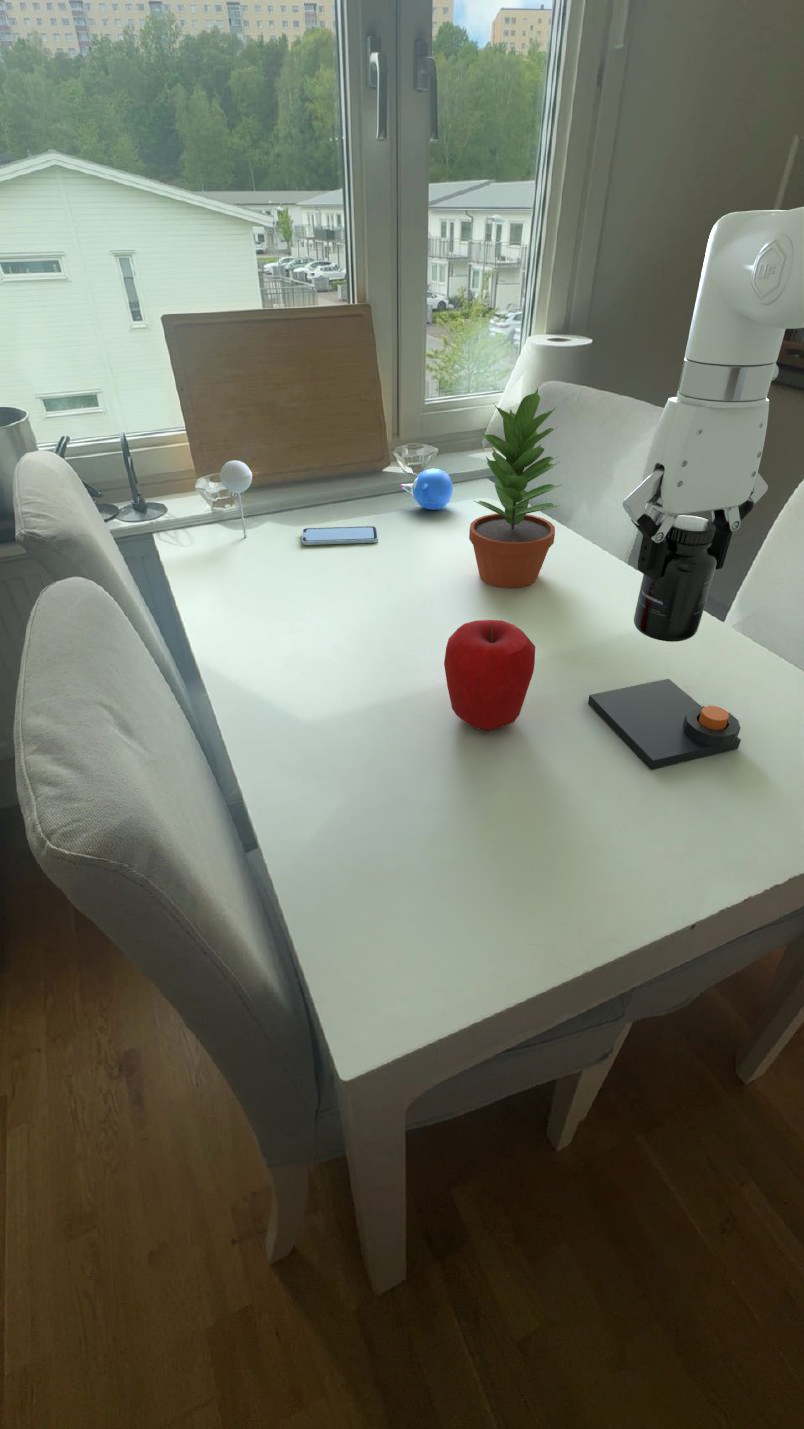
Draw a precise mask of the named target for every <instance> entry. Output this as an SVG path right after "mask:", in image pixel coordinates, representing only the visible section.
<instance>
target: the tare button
mask: <svg viewBox="0 0 804 1429" xmlns="http://www.w3.org/2000/svg"><path fill="white" fill-rule="evenodd" d="M728 718H729V714H728V711H727V710H726V709H724V708H722V707H721V706H717V705H706V706H705V707H704V708H703V709H702V711H701V714H700V718H699V723H700V724H701V725H702V726H703V727H706V728H708V729H711V730H723V729H724V728H725V727H726V724H727V721H728Z"/></svg>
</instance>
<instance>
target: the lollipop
mask: <svg viewBox="0 0 804 1429" xmlns="http://www.w3.org/2000/svg"><path fill="white" fill-rule="evenodd" d="M219 480H220V482H221V484H222V485H223V487H224V488H225V489H226V490H228V491H229V492H231V493H233V494H234V493H235V494H237V499H238V506H239V511H240V517H241V524H242V531H243V538H247V536H248V535H247V531H246V525H245V518H244V517H245V516H244V512H243V511H244V510H243V505H242V504H243V503H242V498H241V493H244V492H246V491H247V490H248V489H249V488H250V486H251V484H252V480H253V473H252V471H251V469H250V468H249V466H248V465H247V464H246V463H244V462H243V461H241V460H230V461H227V462H226V463H225V464H224V465H223V466H222V467H221V469H220V472H219Z"/></svg>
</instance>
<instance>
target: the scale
mask: <svg viewBox="0 0 804 1429" xmlns="http://www.w3.org/2000/svg"><path fill="white" fill-rule="evenodd" d="M587 704H588V706H589V707H590V708H591V709H592V710H593V711H594V712H595V713H596V714H597V715H598V716H599V717H600V718H601V719H602V720H603V722H604V723H605V724H606V725H607V726H608V727H609V728H610V729H611V730H613V732H614V733H615V734H616V735H617V736H618V737H619V738H620V739H621V740H622V741H623V742H624V743H625V745H626V746H628V748H629V749H630V750H631V751H632V752H633V753H634V754H635V756H637V757H638V758H639V759H640V760H641V762H642V763H643V764H645V766H646V767H648V769H649V770H650V771H652V770H656V769H660V768H664V767H669V766H673V765H676V764H681V763H686V762H690V761H694V760H697V759H698V760H699V759H701V758H707V757H711V756H715V755H717V754H718V755H719V754H722V753H727V752H731V751H735V750H738V749H739V748H740V744H741V742H742V739H741V738H740V737H739V734H740V731H741V725H740V721H739V719H738V718H737V717H735V716H734V715H733V714H732V713H730V712H728V711H727V712H728V714H729V718H728V721H727V724H726V727H725V728H724V729H723V730H711V729H708V728H706V727H703V726H702V725H701V724H700V723H699V718H700V714H701V711H702V709H703V708H704V707H706V706H705V705H704V706H703V705H701V704H700V703H698V702H697V701H696V700H695V699H694V698H692V697H691V696H690V695H689V694H688V693H686V691H684V690H683V689H682V688H680V687H679V686H678V685H677V684H676V683H675V682H674V681H672V679H670V678H664V679H659V680H655V681H650V682H646V683H641V684H635V685H631V686H626V687H621V688H617V689H611V690H607V691H602V692H596V693H592V694H589V695H588V699H587Z"/></svg>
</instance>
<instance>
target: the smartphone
mask: <svg viewBox="0 0 804 1429" xmlns="http://www.w3.org/2000/svg"><path fill="white" fill-rule="evenodd" d="M378 541H379V535H378V528H377V526H375V525H364V526H362V525H361V526H331V527H328V526H327V527H305V528H303V529H302V532H301V544H302V545H304V546H305V545H306V546H312V545H313V546H314V545H315V546H316V545H343V544H344V545H345V544H347V545H348V544H373V543H378Z"/></svg>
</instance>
